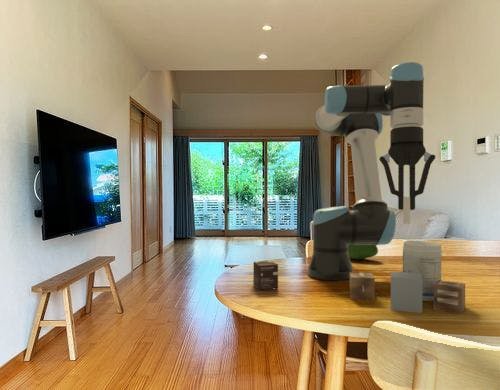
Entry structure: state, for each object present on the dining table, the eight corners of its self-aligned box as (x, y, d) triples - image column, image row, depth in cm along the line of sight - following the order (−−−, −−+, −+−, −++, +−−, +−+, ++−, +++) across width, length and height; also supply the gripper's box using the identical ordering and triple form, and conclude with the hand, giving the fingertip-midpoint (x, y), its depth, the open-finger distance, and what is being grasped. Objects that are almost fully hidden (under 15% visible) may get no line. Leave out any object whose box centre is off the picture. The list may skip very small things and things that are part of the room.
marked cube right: (433, 309, 90) (433, 284, 90) (438, 303, 95) (438, 279, 95) (461, 314, 86) (461, 288, 86) (465, 307, 91) (465, 282, 91)
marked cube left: (351, 302, 95) (351, 278, 95) (349, 293, 104) (349, 271, 104) (375, 303, 94) (375, 279, 94) (371, 294, 102) (371, 272, 102)
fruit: (382, 260, 152) (382, 236, 152) (371, 263, 145) (371, 238, 144) (348, 255, 162) (348, 233, 162) (337, 258, 155) (337, 235, 155)
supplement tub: (396, 292, 104) (396, 240, 104) (427, 291, 105) (427, 240, 105) (414, 302, 95) (414, 246, 94) (449, 301, 96) (449, 245, 95)
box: (258, 290, 106) (258, 265, 106) (253, 285, 112) (253, 261, 112) (278, 289, 108) (278, 264, 108) (271, 284, 114) (271, 260, 114)
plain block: (390, 309, 89) (390, 277, 89) (391, 301, 96) (391, 271, 96) (422, 313, 87) (422, 279, 87) (420, 304, 93) (420, 273, 93)
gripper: (378, 127, 90) (378, 223, 90) (437, 123, 85) (437, 225, 85) (379, 131, 97) (379, 221, 97) (434, 128, 92) (434, 222, 92)
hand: (406, 223), depth 91 cm, fingers closed
